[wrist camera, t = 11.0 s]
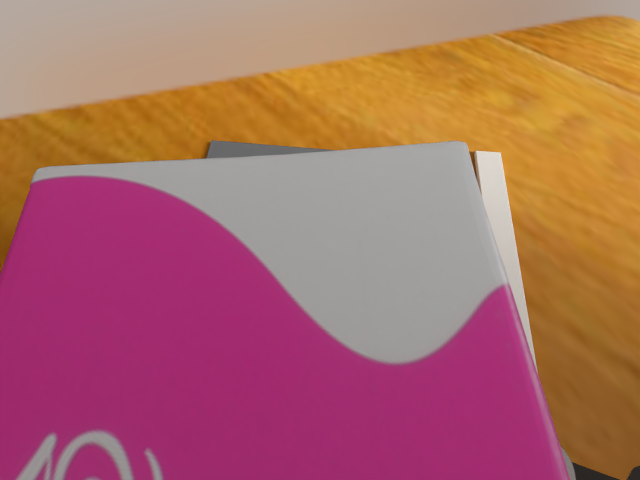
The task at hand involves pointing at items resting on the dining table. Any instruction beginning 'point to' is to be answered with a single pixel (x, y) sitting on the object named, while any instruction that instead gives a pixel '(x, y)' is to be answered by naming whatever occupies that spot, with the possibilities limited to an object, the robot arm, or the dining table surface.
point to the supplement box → (266, 324)
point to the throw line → (502, 227)
